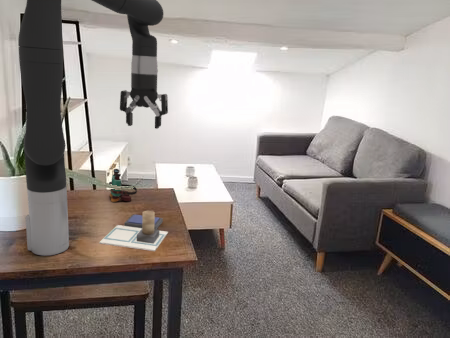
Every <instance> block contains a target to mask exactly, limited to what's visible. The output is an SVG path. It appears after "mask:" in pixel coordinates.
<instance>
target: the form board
mask: <svg viewBox="0 0 450 338" xmlns="http://www.w3.org/2000/svg"><path fill="white" fill-rule="evenodd" d="M141 229H142V228H136V227H129V226H124V225H121V224H120V225H119V224H116V226H115V227H114V228H112V230H110V231H109V233H108V234H106V235H105V236H104V237H103V238H102V239H101V240H100V241H99V245H100V244H103V245H108V246H115V247H120V248H121V247H122V248H123V247H124V248H131V249H136V250H137V249H138V250H145V251H150V252H156V251H157V249H158V248H159V246H160V245H161V243H162V242H163V241H164V239H165V238H166V236H168V233H169V231H166V230H165V231H164V230H159V237H158V238H157V240H156V241H155V242H154V244H153V243H146V242H139V241H137V234H138V233H139V232H140V230H141Z"/></svg>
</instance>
